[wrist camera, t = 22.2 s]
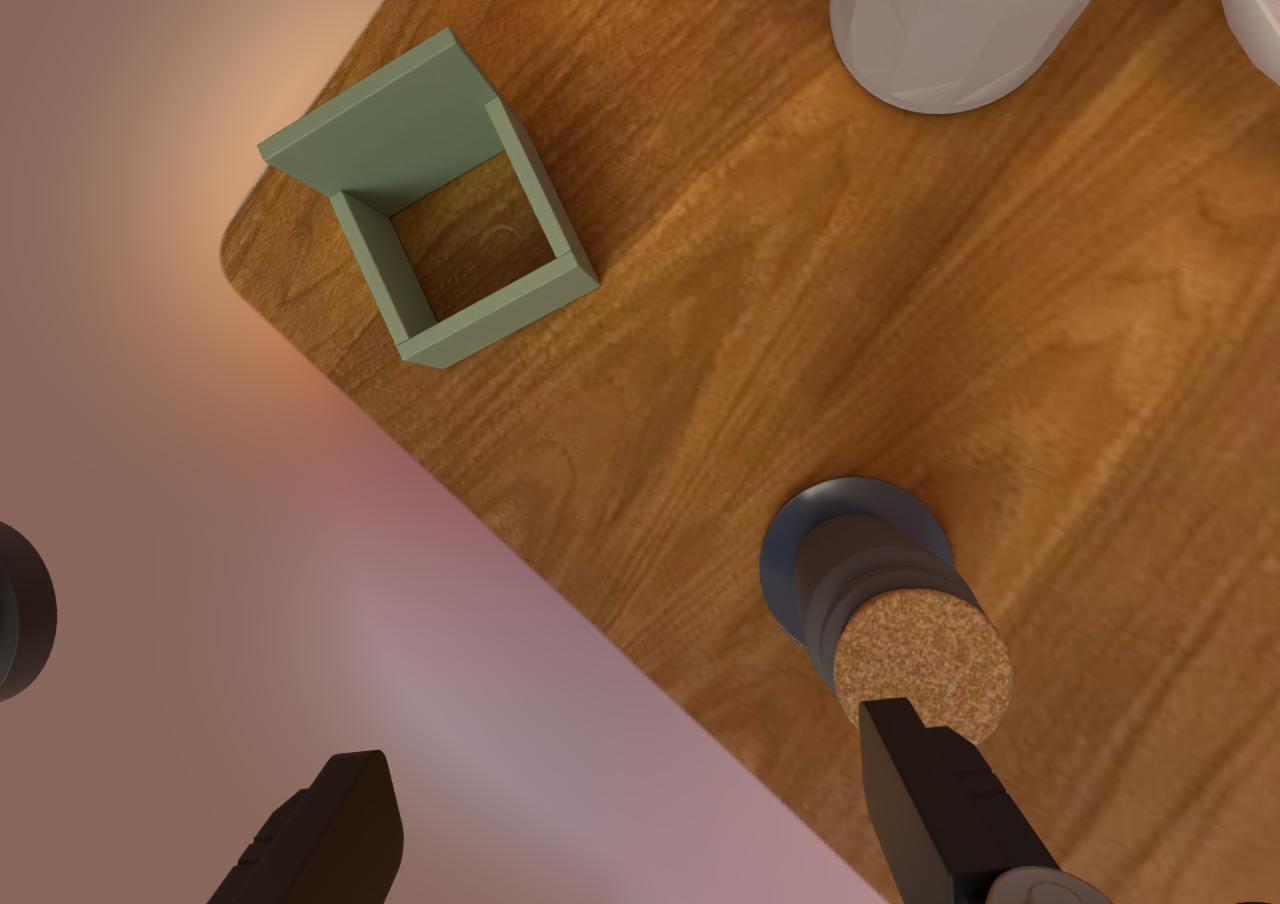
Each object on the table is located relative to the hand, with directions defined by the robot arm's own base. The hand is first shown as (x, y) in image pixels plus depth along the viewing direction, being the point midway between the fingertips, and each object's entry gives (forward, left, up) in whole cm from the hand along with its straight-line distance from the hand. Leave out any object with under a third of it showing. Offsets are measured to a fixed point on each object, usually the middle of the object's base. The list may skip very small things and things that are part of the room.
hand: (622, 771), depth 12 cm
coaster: (+6, -4, -24) cm, 25 cm away
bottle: (+5, -4, -24) cm, 25 cm away
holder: (-4, +19, -24) cm, 32 cm away
